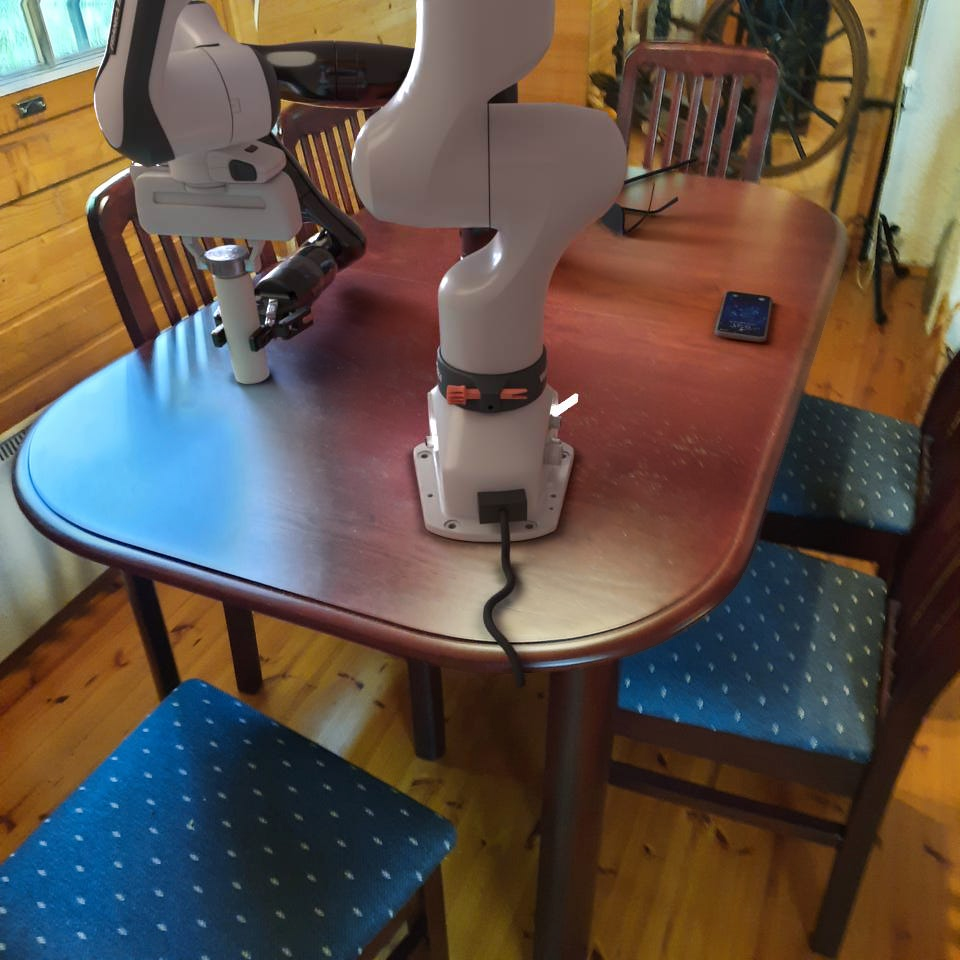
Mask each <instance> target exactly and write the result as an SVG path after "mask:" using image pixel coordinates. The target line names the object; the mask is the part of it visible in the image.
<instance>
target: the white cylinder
mask: <svg viewBox="0 0 960 960" xmlns="http://www.w3.org/2000/svg"><path fill="white" fill-rule="evenodd" d="M211 276H212V281H213V287H214V290H215V294H216V298H217V303H218V307H219V308H220V313H221V317H222V322H223V326H224V331H225V335H226V339H227V343H226V344H227V349H228V352H229V357H230V362H231V366H232V370H233V375H234V379H235V381H236V382H238V383H240V384H244V385H253V384H258V383H261V382H263V381H265V380H266V379H267V378H269V377H270V366H269V362H268V358H267V352H266V346H265V347H264V348H262V349H260V350H259V351H258V352H252V351H251V349H250V344H249V337H250V336H251V335H252V334H253V333H254V332H255V331H256V330H257V329H258V328H259V327H260V321H259V315H258V310H257V305H256V300H255V295H254V284H253V280H252V275H251V272H244V273H241V274H237V275H233V276H216V275H213V274H211Z"/></svg>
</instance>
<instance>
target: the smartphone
mask: <svg viewBox="0 0 960 960" xmlns="http://www.w3.org/2000/svg"><path fill="white" fill-rule="evenodd" d="M773 302H774V301H773V298H772V297H771V296H769V295H763V294H756V293H749V292H743V291H734V290H729V291H726V292H725V293H724V295H723V299H722V301H721V306H720V310H719V312H718V317H717V319H716V322H715V328H714V334H715V335H716V336H717V337H718V338H719V337H720V338H725V339H732V340H739V341H747V342H754V343H764V342H765V341H767V338H768V333H769V328H770V318H771V313H772V307H773Z"/></svg>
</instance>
